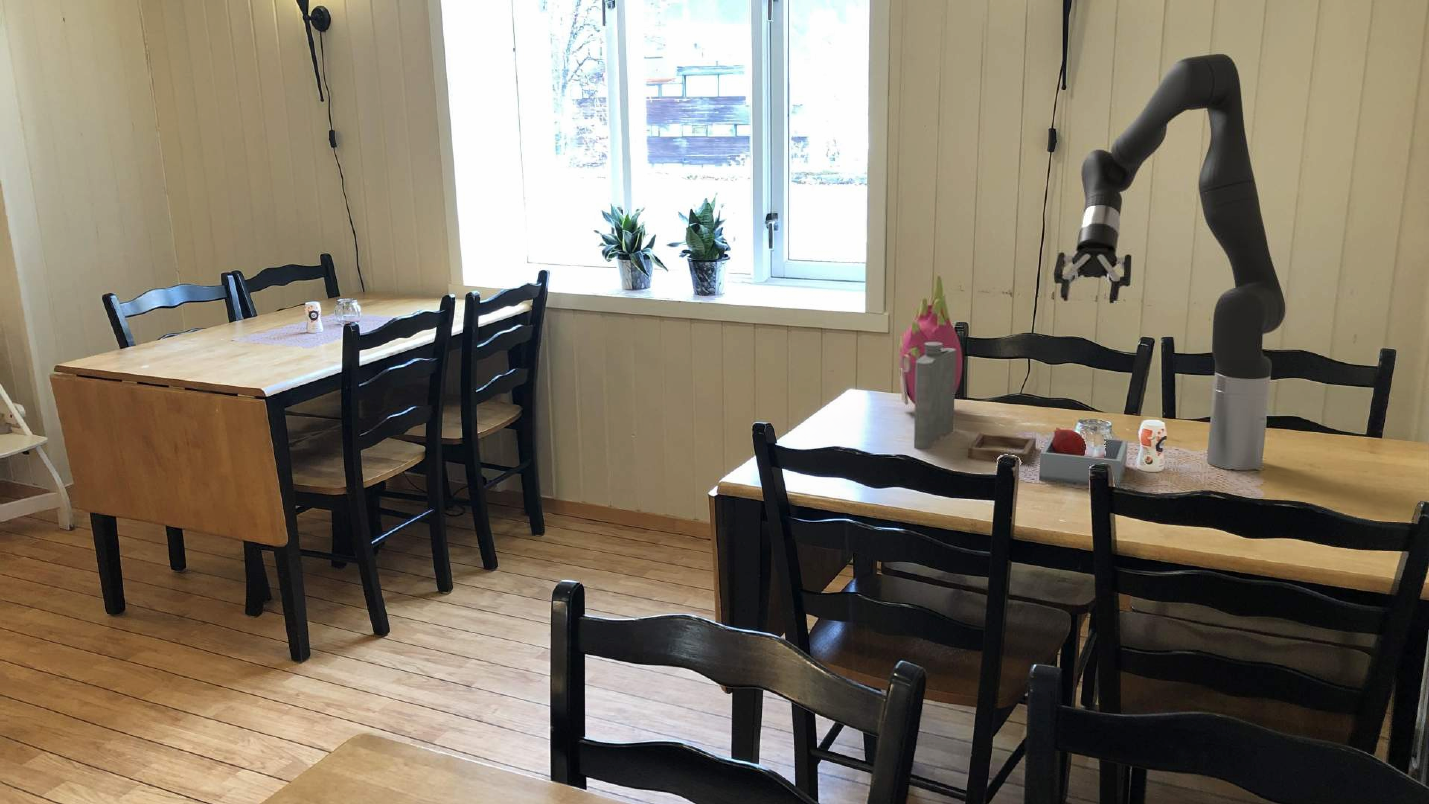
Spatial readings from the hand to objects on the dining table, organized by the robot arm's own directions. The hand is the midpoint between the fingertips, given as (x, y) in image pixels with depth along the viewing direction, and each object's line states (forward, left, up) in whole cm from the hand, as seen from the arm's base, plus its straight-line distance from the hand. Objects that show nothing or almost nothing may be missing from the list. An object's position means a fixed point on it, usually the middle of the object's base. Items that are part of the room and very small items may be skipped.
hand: (1088, 299), depth 213 cm
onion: (-3, +19, -27) cm, 33 cm away
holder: (+13, +13, -29) cm, 34 cm away
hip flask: (+28, +8, -29) cm, 41 cm away
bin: (-3, +20, -29) cm, 35 cm away
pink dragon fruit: (+34, -13, -29) cm, 47 cm away
